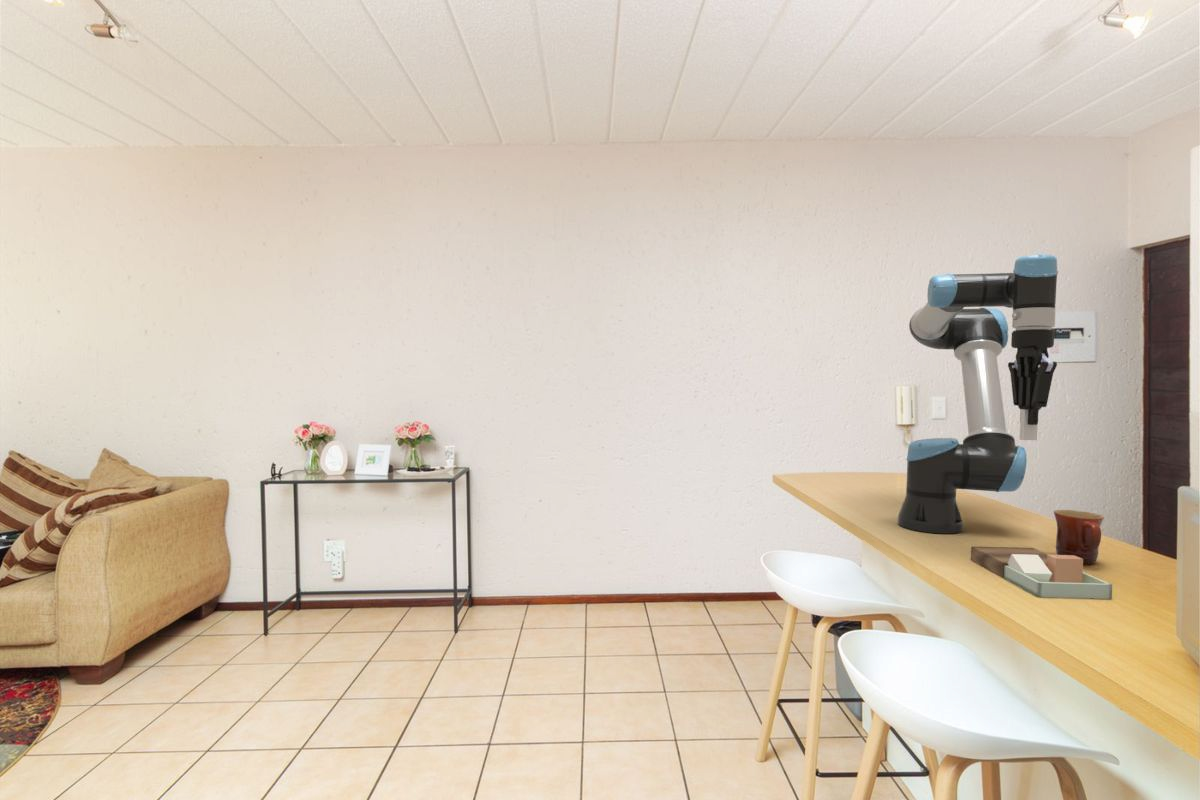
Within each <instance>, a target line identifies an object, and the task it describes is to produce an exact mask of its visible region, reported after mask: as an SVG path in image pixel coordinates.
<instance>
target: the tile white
mask: <svg viewBox="0 0 1200 800" xmlns="http://www.w3.org/2000/svg"><path fill="white" fill-rule="evenodd" d="M1008 565H1009V566H1010V567H1011V568H1013V569H1015V570H1017V571H1019V572H1021V573H1023V574H1025V575H1027V576H1029V577H1031V578H1033V579H1035V580H1037V581H1039V582H1048V581H1049V579H1050V577H1051V575H1052V573H1051V572H1050V570H1049V569H1048V568H1047V566H1046V565H1045V564H1044V562H1043V561H1042V560H1041V558H1040V557H1039V556H1038V555H1027V554H1011V557H1010V559H1009V561H1008Z"/></svg>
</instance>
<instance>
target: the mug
mask: <svg viewBox="0 0 1200 800" xmlns="http://www.w3.org/2000/svg"><path fill="white" fill-rule="evenodd" d="M1053 515H1054V518H1055V521H1056V528H1057V529H1056V537H1055V538H1056V539H1055V540H1056V541H1055V551H1056V555H1074V556H1077V557H1079V558H1082V559H1083V566H1084V565H1085V566H1087V565H1093V564H1095V563H1096V562H1097V560H1098V557H1099V553H1100V552H1099V549H1100V548H1099V546H1100V544H1101V540H1102V530H1101V526H1102V523H1103V522H1104V519H1105V517H1104V516H1103V515H1101V514H1099V513H1094V512H1089V511H1088V512H1087V511H1083V510H1075V509H1073V510H1072V509H1058V510H1057V509H1056V510H1054V511H1053Z"/></svg>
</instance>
